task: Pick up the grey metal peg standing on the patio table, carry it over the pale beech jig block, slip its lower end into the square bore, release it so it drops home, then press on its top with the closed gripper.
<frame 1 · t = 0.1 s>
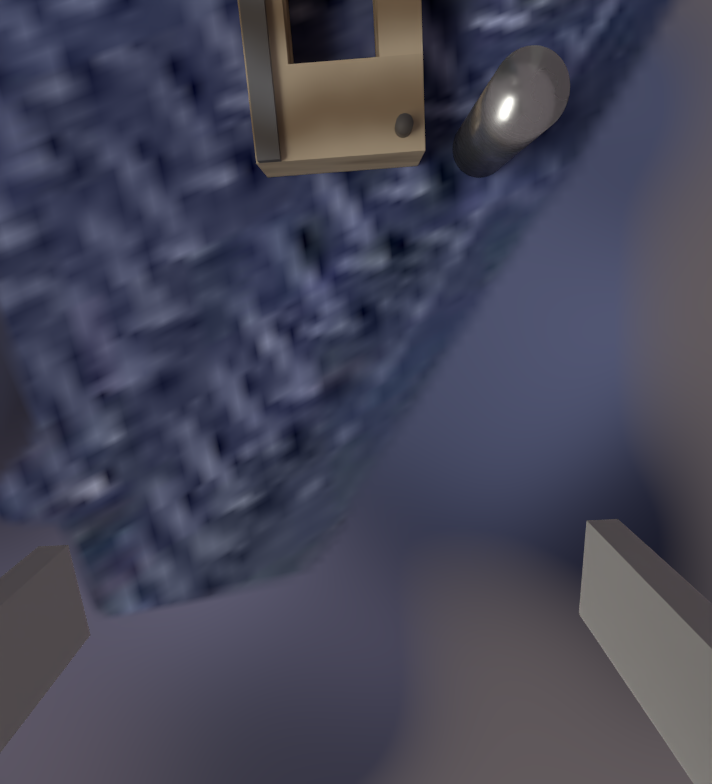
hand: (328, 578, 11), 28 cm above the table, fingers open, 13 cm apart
grey metal peg: (480, 147, 34), on the table
jig: (333, 40, 32), on the table
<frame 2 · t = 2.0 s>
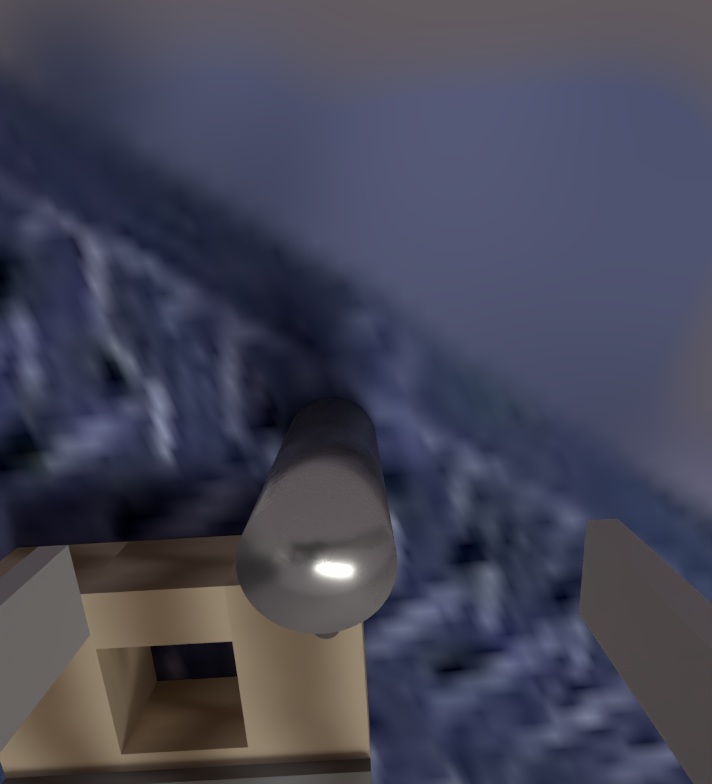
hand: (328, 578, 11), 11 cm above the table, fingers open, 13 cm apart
grey metal peg: (332, 439, 21), on the table
jig: (203, 633, 24), on the table
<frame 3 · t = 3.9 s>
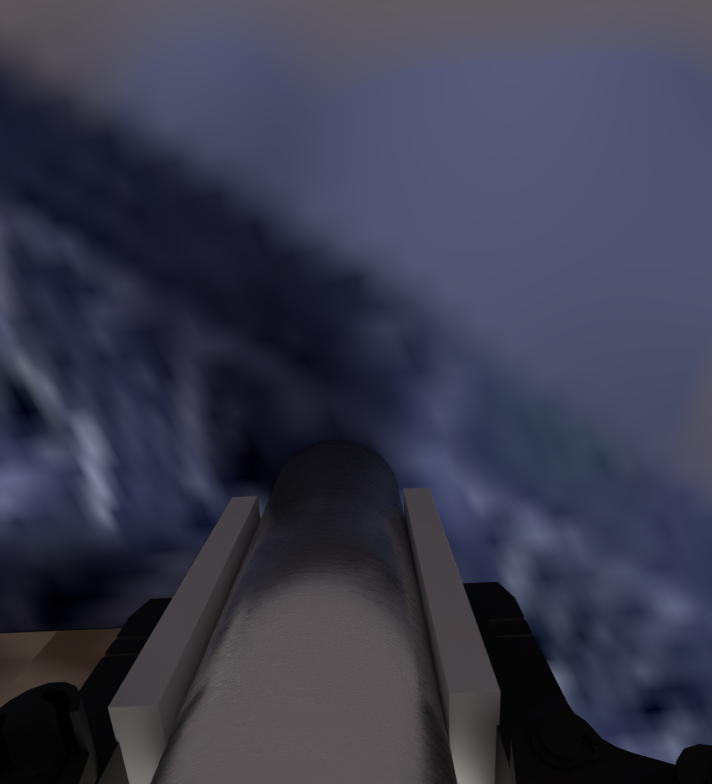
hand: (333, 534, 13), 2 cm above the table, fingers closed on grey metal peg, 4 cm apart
grey metal peg: (336, 499, 15), on the table, touching gripper
jig: (163, 747, 18), on the table
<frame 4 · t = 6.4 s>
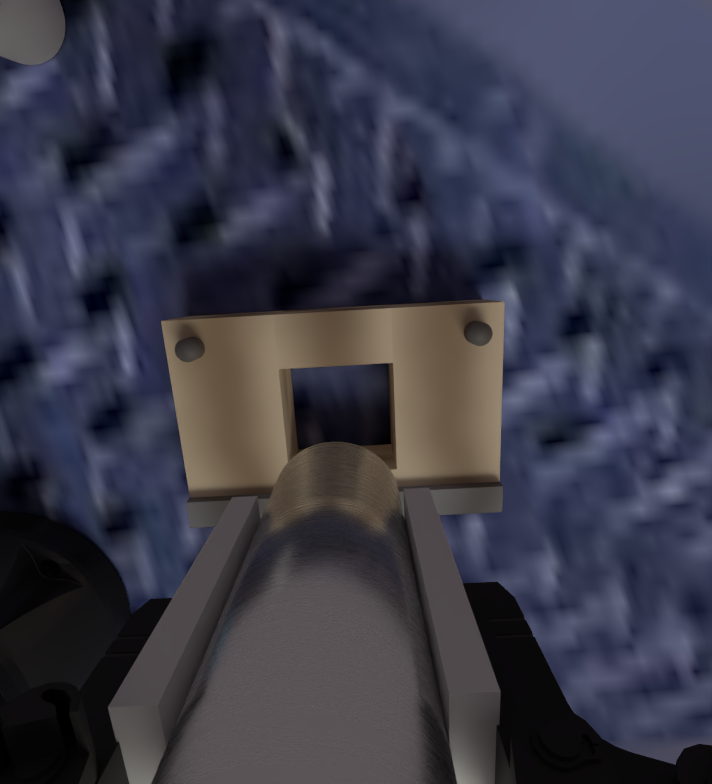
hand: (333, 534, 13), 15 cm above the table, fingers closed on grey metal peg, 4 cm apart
grey metal peg: (336, 500, 15), point 13 cm above the table, touching gripper
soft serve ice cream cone: (28, 22, 23), on the table
jig: (341, 401, 28), on the table
when the fingers open (5 cm above the table, at t = 8.8 s): grey metal peg drops 3 cm, resting in jig.
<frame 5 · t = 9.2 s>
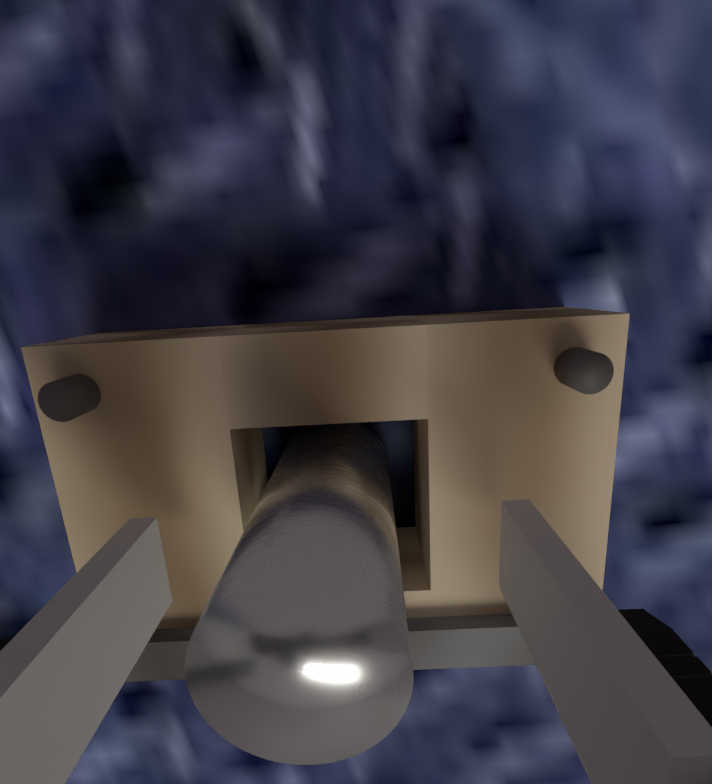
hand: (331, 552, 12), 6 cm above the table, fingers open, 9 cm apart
grey metal peg: (335, 465, 18), resting in jig
jig: (340, 464, 18), on the table
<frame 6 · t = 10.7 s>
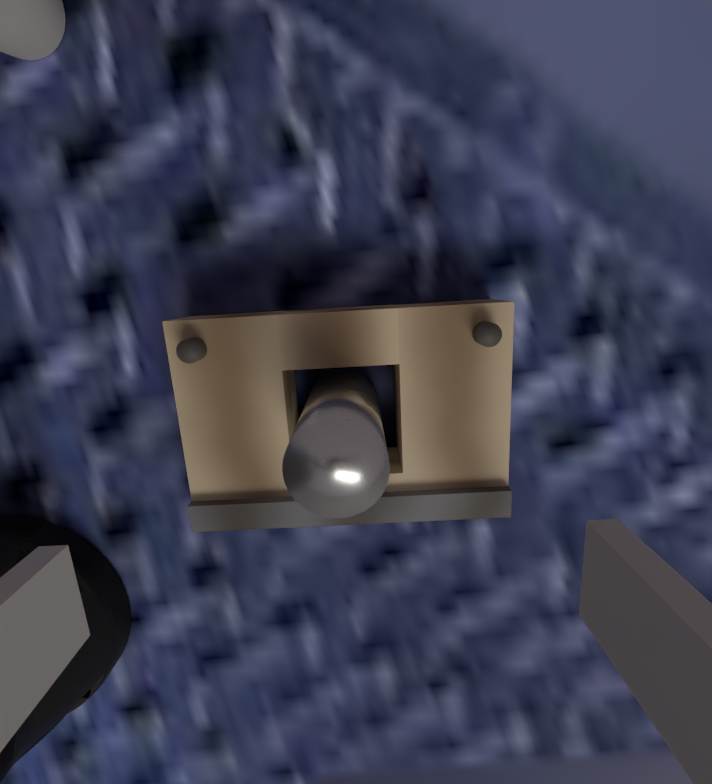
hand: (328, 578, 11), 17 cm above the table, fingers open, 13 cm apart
grey metal peg: (343, 404, 27), resting in jig
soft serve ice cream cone: (27, 16, 22), on the table
jig: (346, 403, 27), on the table
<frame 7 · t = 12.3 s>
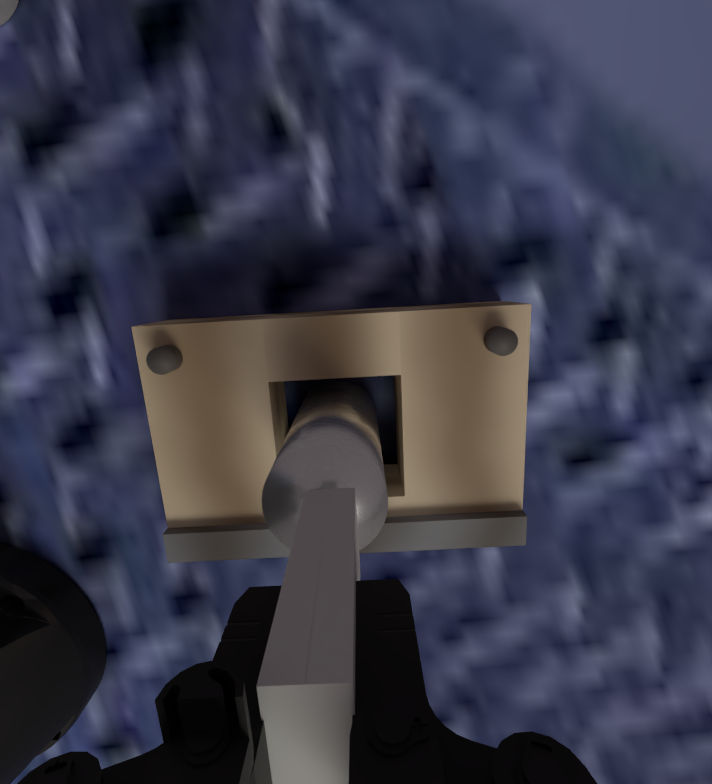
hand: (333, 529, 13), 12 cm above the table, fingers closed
grey metal peg: (338, 417, 25), resting in jig
jig: (341, 416, 24), on the table
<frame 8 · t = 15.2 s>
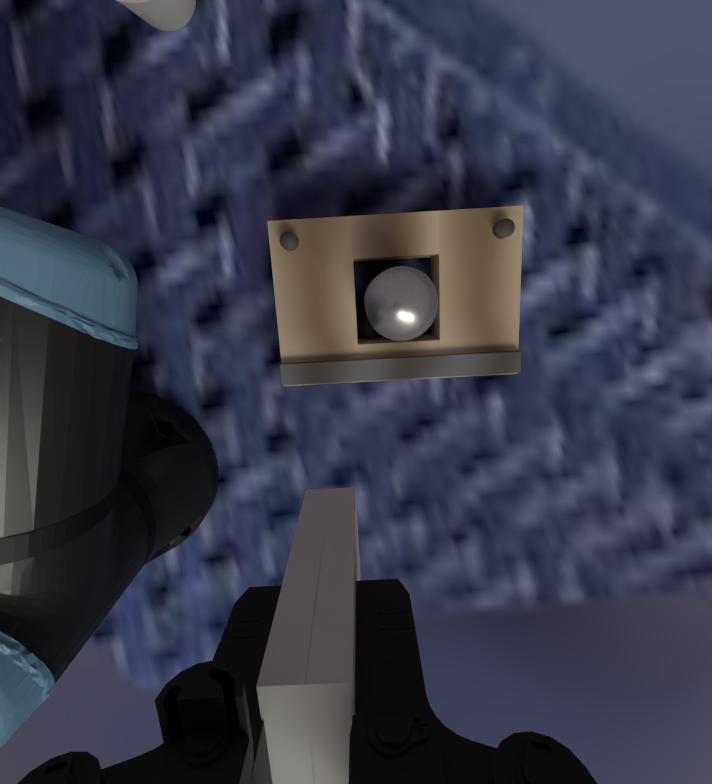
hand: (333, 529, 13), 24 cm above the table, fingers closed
grey metal peg: (390, 299, 35), resting in jig
jig: (393, 298, 35), on the table
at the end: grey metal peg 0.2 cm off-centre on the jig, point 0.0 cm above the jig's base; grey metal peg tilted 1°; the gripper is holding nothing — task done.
